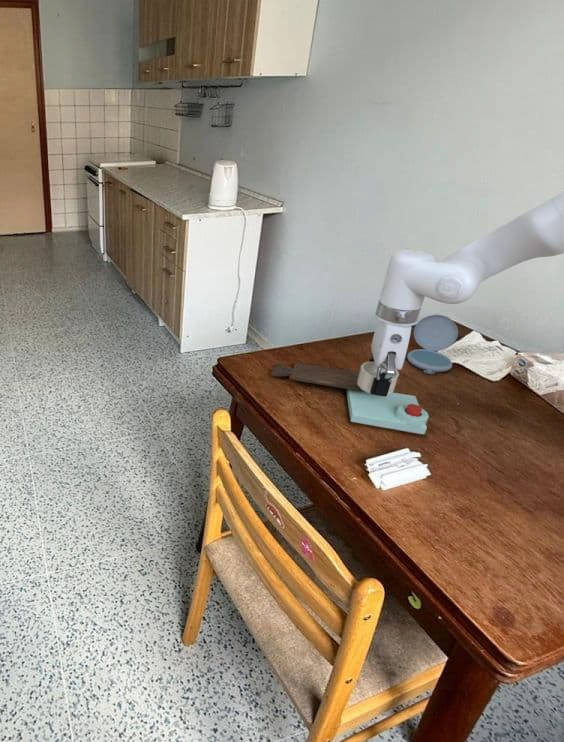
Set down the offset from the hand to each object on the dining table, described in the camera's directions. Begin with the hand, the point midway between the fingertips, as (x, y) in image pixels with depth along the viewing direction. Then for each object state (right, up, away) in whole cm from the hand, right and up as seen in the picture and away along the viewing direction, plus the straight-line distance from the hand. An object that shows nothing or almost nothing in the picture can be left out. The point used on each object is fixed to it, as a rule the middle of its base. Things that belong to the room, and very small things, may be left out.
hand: (375, 384), depth 104 cm
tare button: (+5, -6, -5) cm, 9 cm away
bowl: (0, -1, 0) cm, 1 cm away
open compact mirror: (+24, +4, +19) cm, 31 cm away
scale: (+2, -6, +1) cm, 7 cm away
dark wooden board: (-6, 0, +10) cm, 12 cm away
